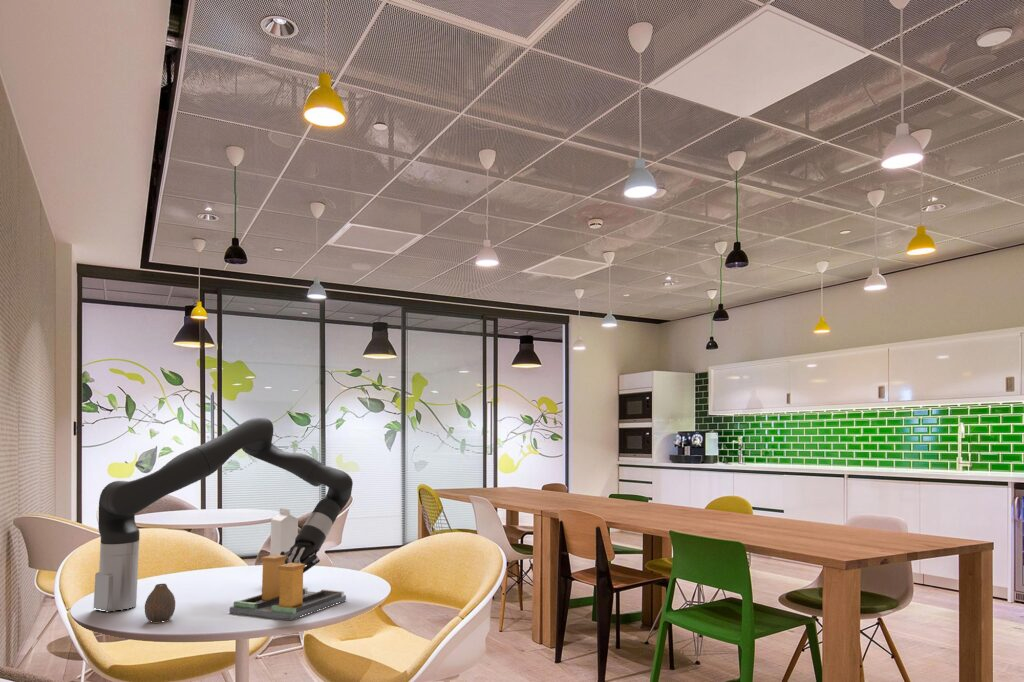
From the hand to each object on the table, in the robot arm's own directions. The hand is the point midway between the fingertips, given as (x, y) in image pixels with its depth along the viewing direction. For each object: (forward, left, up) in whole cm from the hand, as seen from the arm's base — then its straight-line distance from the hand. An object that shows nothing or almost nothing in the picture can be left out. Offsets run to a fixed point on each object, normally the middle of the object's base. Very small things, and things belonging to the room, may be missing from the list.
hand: (284, 584), depth 201 cm
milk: (+20, +22, -5) cm, 30 cm away
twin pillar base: (-3, -5, -5) cm, 7 cm away
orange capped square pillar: (-3, +1, -3) cm, 4 cm away
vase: (-28, +14, -5) cm, 31 cm away
